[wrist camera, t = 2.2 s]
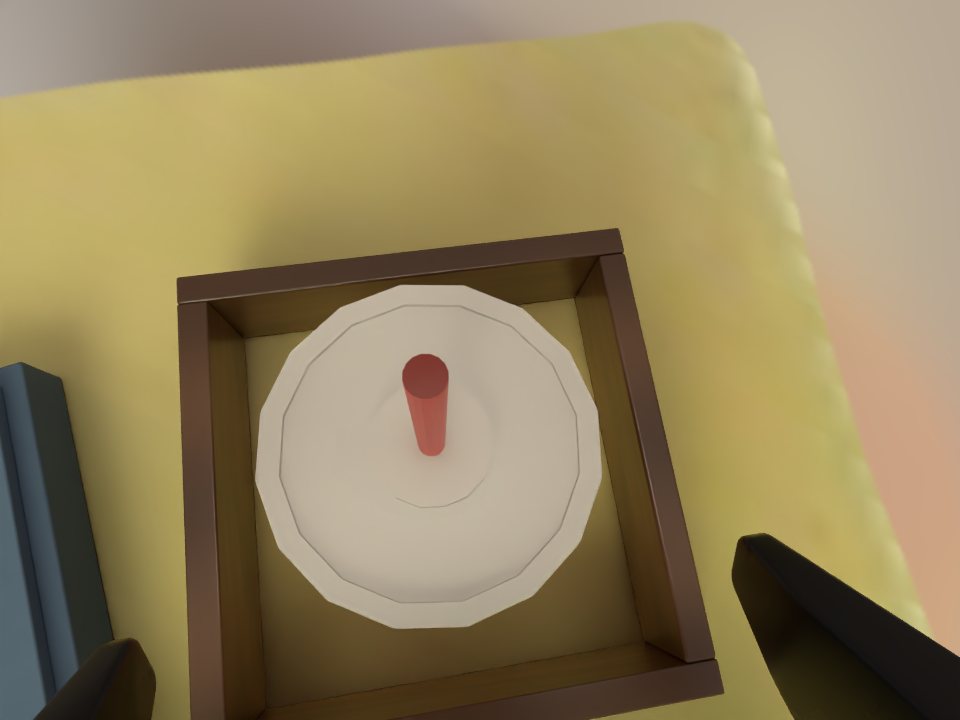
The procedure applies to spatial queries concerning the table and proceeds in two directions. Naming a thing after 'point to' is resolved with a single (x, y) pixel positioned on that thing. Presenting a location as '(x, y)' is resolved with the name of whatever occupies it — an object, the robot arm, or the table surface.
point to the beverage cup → (428, 456)
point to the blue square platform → (42, 548)
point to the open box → (629, 449)
